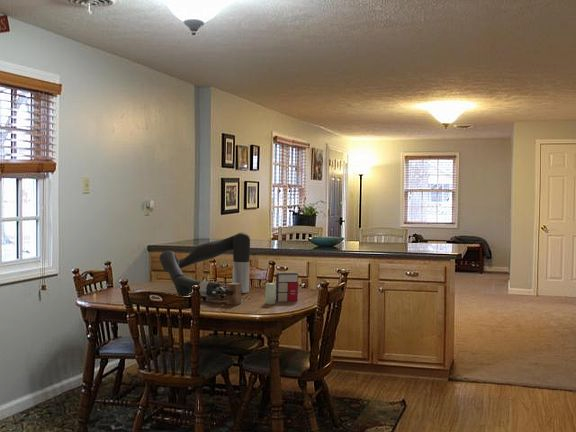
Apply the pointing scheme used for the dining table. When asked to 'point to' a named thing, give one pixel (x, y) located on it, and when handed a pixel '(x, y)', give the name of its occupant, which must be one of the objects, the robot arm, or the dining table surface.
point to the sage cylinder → (270, 293)
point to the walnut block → (234, 294)
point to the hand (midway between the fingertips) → (237, 292)
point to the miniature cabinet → (286, 287)
